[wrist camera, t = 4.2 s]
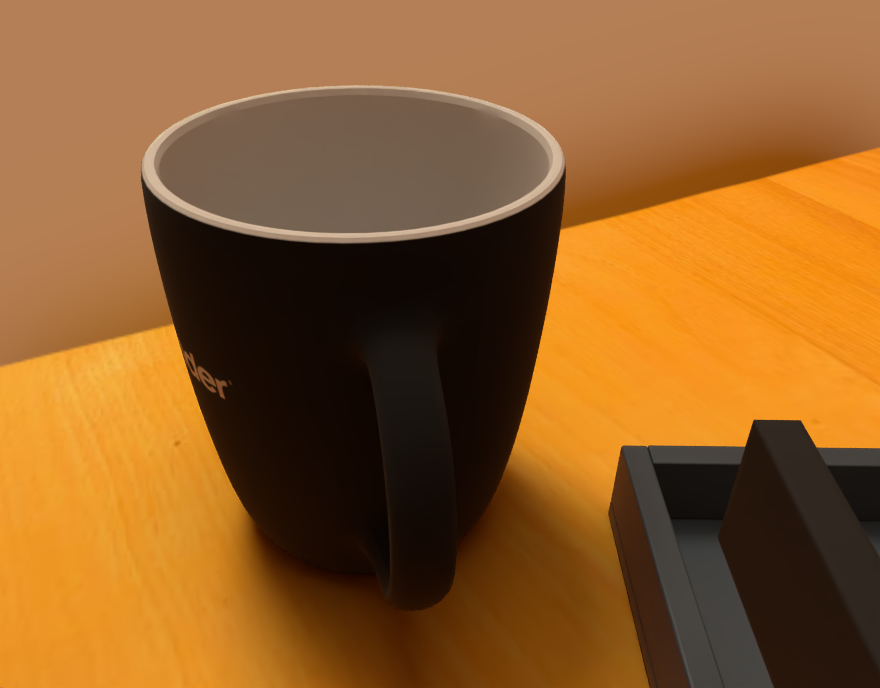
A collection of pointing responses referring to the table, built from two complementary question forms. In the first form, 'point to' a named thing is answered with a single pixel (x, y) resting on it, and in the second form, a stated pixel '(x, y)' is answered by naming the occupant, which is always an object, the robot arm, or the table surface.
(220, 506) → the table surface
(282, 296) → the mug
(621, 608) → the table surface
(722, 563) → the tray
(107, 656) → the table surface
